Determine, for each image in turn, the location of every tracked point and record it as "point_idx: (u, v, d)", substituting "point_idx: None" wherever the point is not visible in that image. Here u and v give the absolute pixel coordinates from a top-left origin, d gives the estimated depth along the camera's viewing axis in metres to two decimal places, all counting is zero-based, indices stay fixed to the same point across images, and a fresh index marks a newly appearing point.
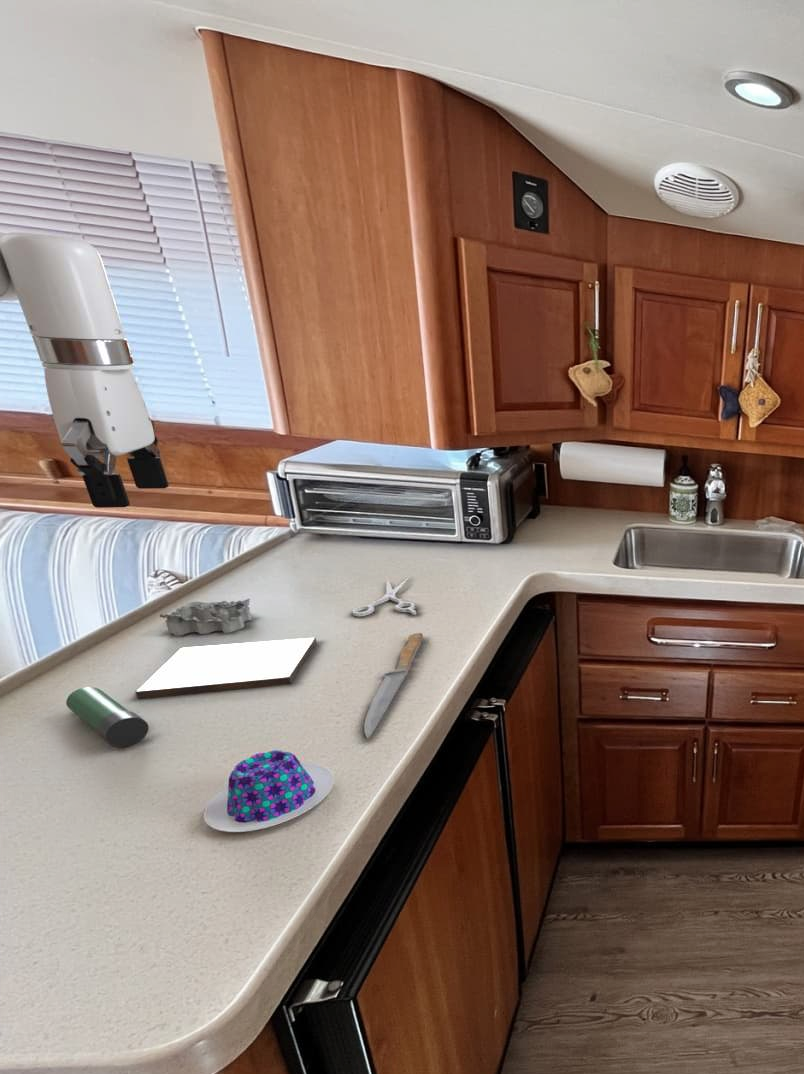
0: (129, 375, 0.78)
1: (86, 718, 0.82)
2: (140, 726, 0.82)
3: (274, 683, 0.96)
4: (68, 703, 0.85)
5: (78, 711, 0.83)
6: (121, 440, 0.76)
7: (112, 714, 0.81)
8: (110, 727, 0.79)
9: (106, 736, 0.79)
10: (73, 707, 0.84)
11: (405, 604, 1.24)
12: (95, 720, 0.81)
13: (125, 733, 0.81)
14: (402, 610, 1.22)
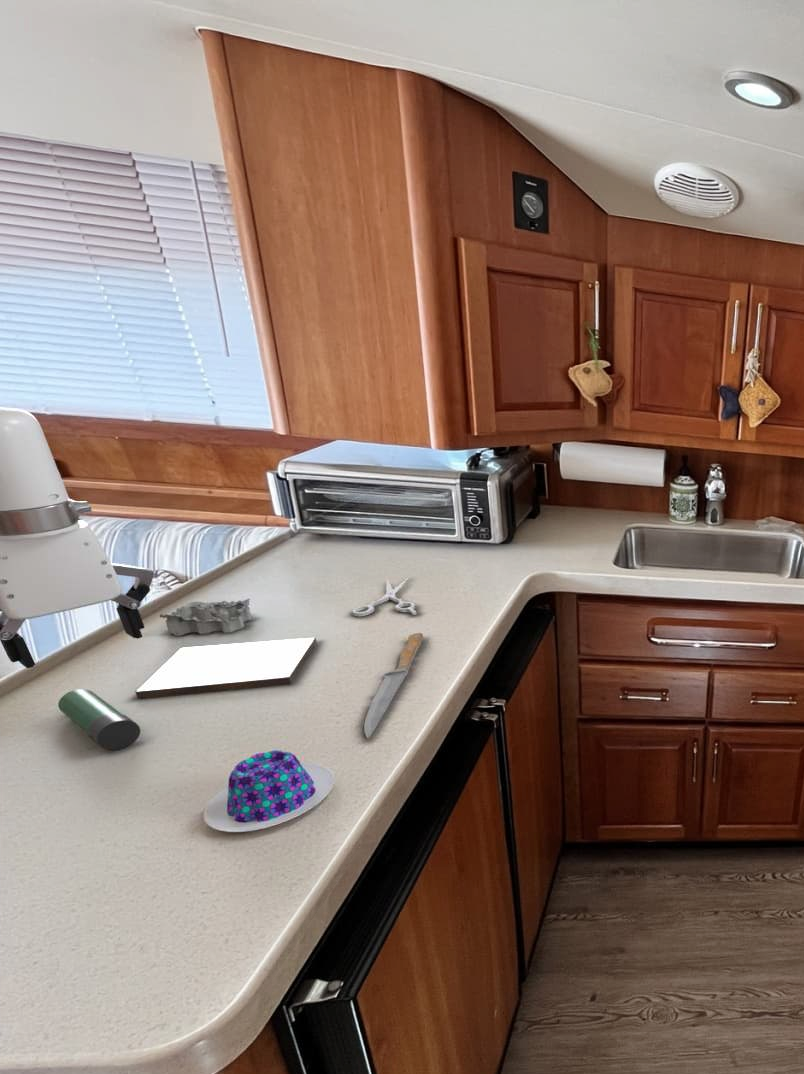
0: (70, 537, 0.75)
1: None
2: (128, 726, 0.81)
3: (274, 683, 0.96)
4: (61, 710, 0.84)
5: (71, 719, 0.83)
6: (25, 605, 0.74)
7: (96, 721, 0.80)
8: (98, 737, 0.78)
9: (99, 744, 0.79)
10: (66, 714, 0.84)
11: (405, 604, 1.24)
12: (86, 728, 0.80)
13: (117, 737, 0.80)
14: (402, 610, 1.22)
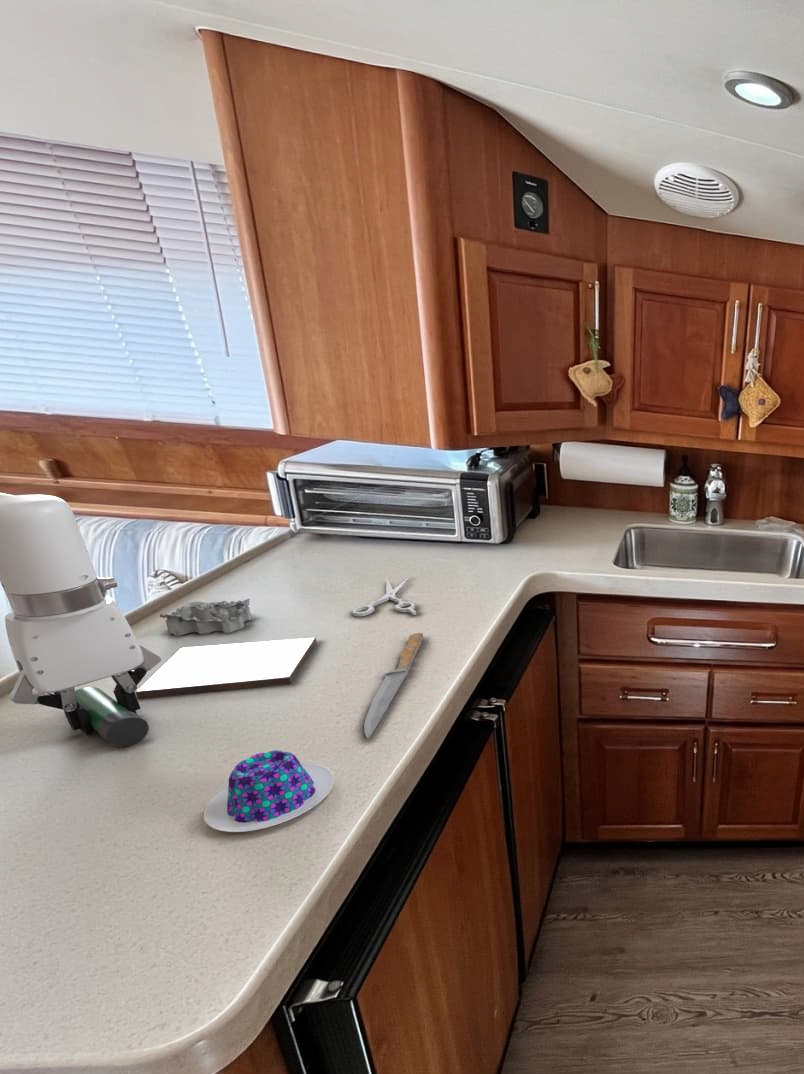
0: (97, 614, 0.79)
1: None
2: (140, 725, 0.82)
3: (274, 683, 0.96)
4: None
5: None
6: (54, 680, 0.77)
7: (110, 715, 0.81)
8: (109, 729, 0.79)
9: (106, 737, 0.79)
10: None
11: (405, 604, 1.24)
12: (95, 721, 0.81)
13: (125, 733, 0.81)
14: (402, 610, 1.22)
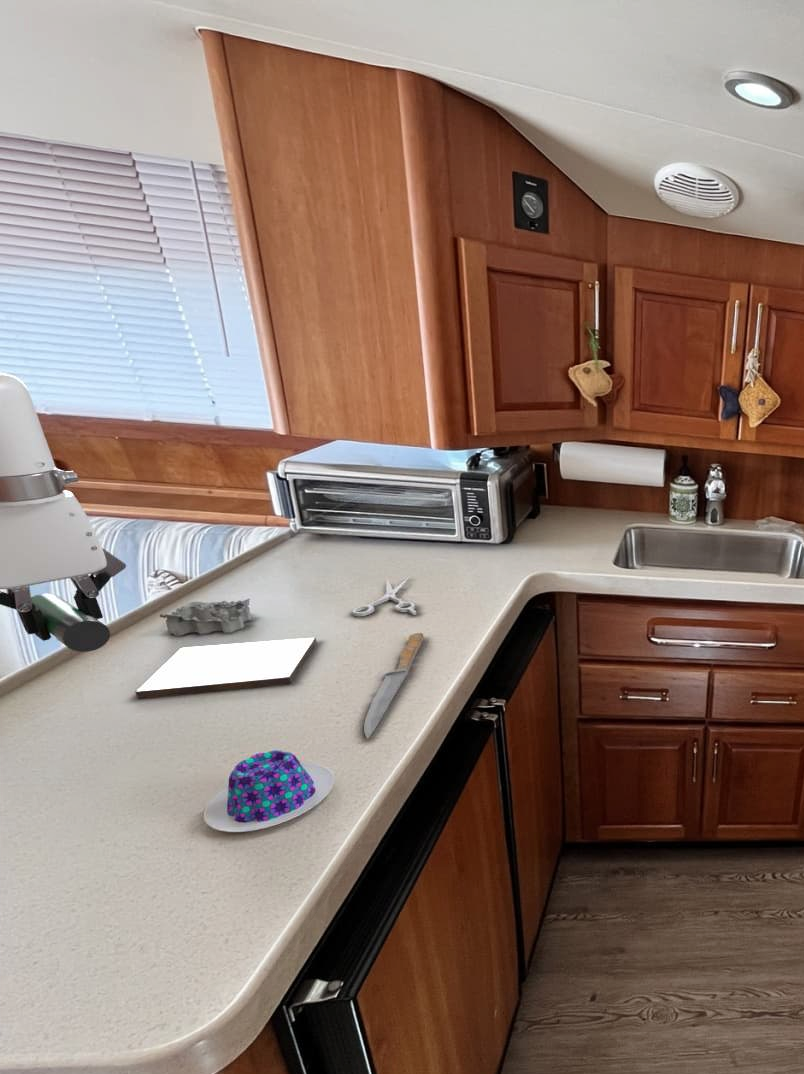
0: (55, 507, 0.74)
1: None
2: (100, 630, 0.76)
3: (274, 683, 0.96)
4: None
5: None
6: (6, 575, 0.72)
7: (68, 617, 0.75)
8: (66, 630, 0.74)
9: (63, 640, 0.74)
10: None
11: (405, 604, 1.24)
12: (52, 624, 0.76)
13: (84, 637, 0.75)
14: (402, 610, 1.22)
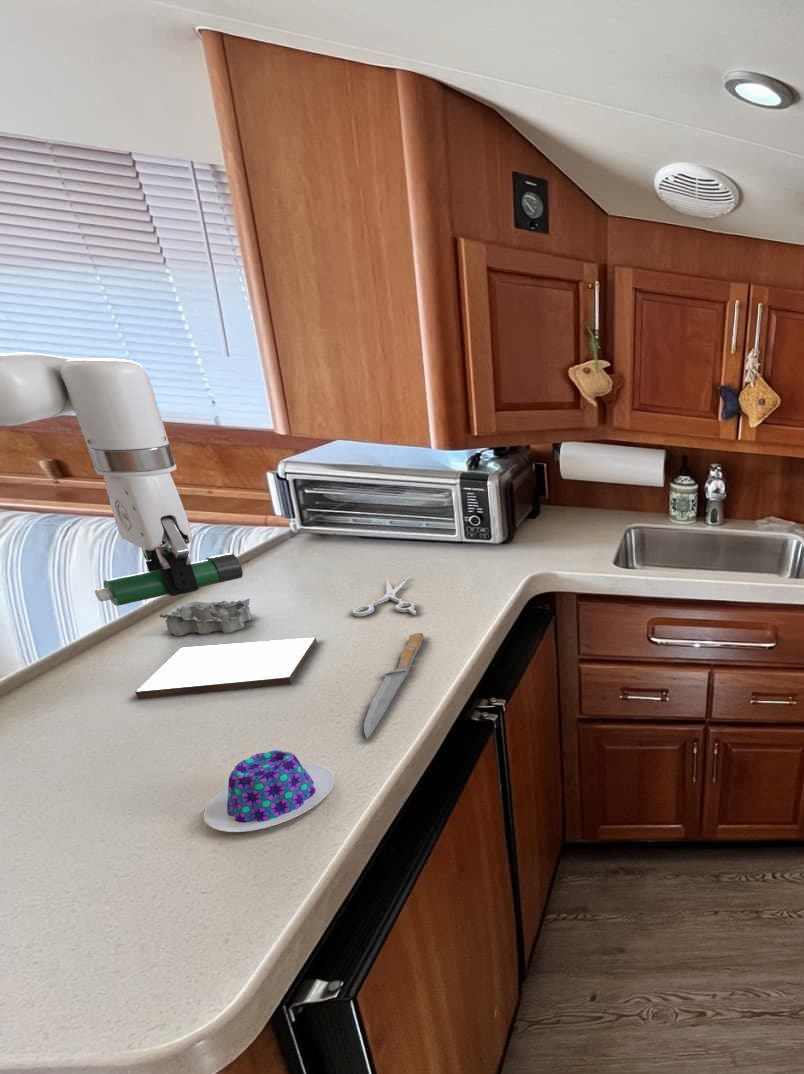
0: None
1: None
2: None
3: (274, 683, 0.96)
4: (123, 592, 0.84)
5: (156, 584, 0.87)
6: None
7: (214, 558, 0.92)
8: None
9: (240, 567, 0.94)
10: (140, 588, 0.85)
11: (405, 604, 1.24)
12: (202, 571, 0.91)
13: None
14: (402, 610, 1.22)
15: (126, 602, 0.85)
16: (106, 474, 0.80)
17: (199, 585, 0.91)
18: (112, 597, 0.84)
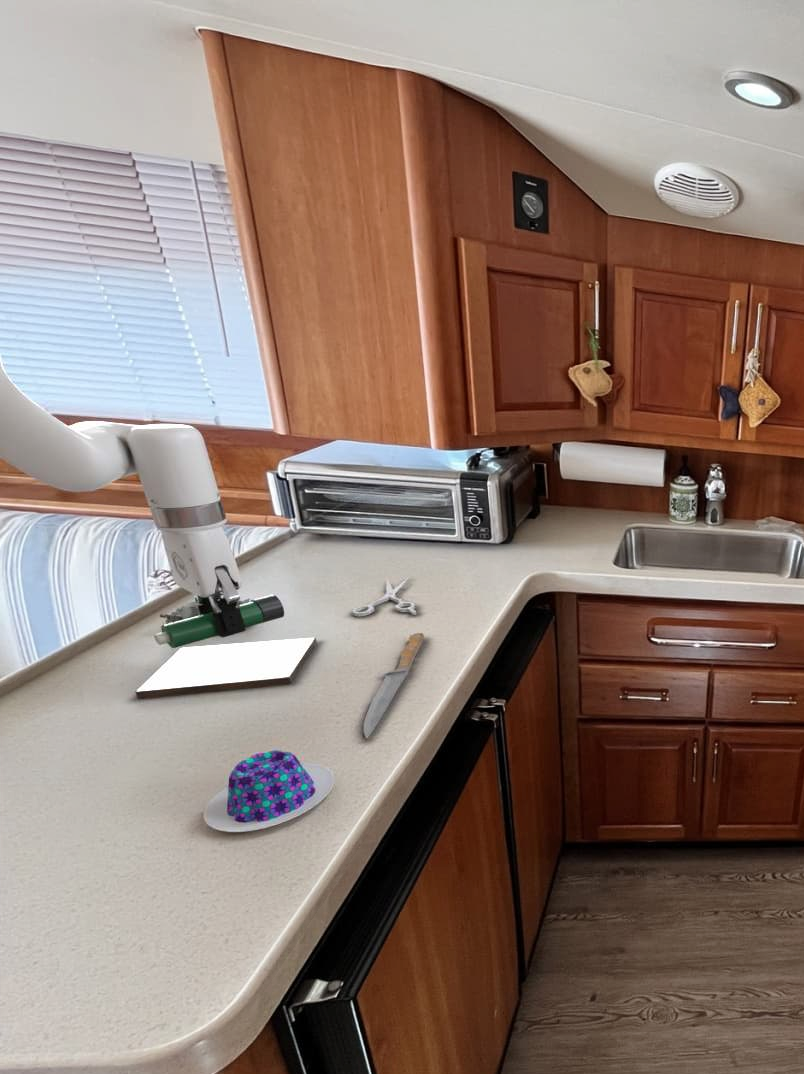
0: None
1: None
2: None
3: (274, 683, 0.96)
4: (179, 635, 0.91)
5: (208, 627, 0.94)
6: None
7: (259, 600, 1.00)
8: None
9: (282, 608, 1.02)
10: (194, 631, 0.93)
11: (405, 604, 1.24)
12: (248, 612, 0.98)
13: None
14: (402, 610, 1.22)
15: (182, 644, 0.92)
16: (166, 530, 0.87)
17: (246, 626, 0.98)
18: (169, 640, 0.91)
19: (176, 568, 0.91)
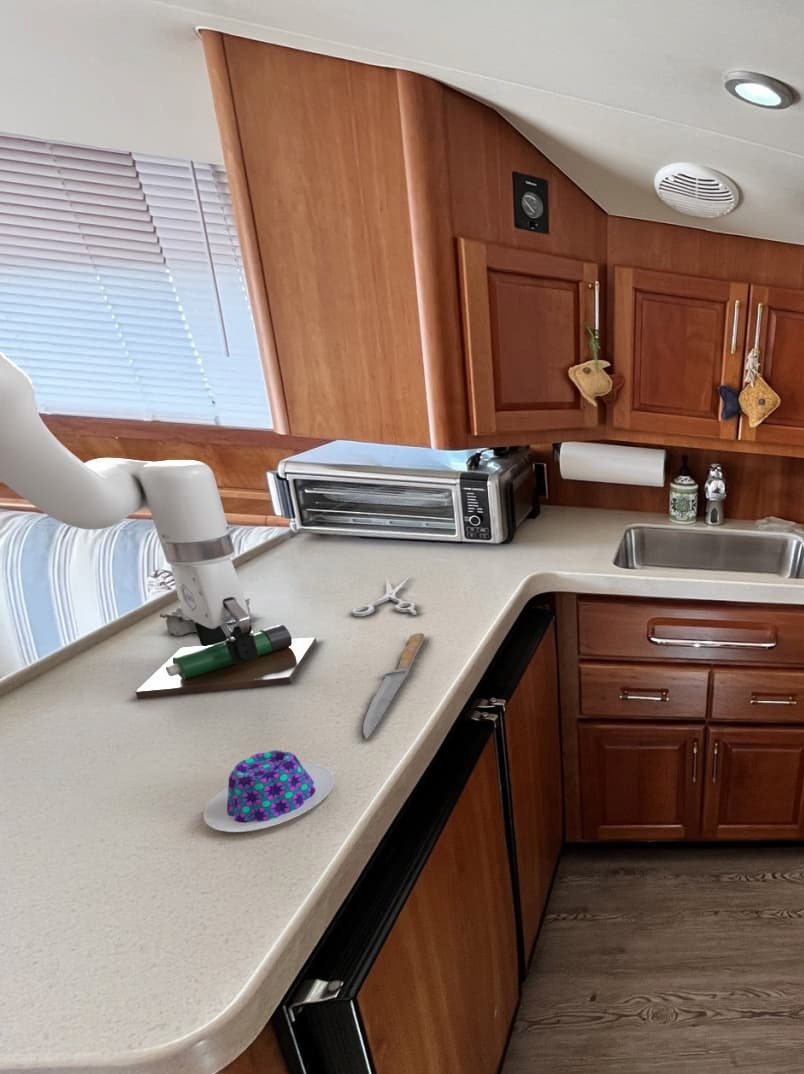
0: None
1: None
2: None
3: (274, 683, 0.96)
4: (191, 669, 0.93)
5: (219, 660, 0.96)
6: None
7: (268, 631, 1.01)
8: None
9: (290, 639, 1.04)
10: (205, 664, 0.94)
11: (405, 604, 1.24)
12: (258, 644, 1.00)
13: None
14: (402, 610, 1.22)
15: (192, 676, 0.94)
16: (176, 563, 0.89)
17: None
18: (180, 672, 0.93)
19: (185, 599, 0.93)
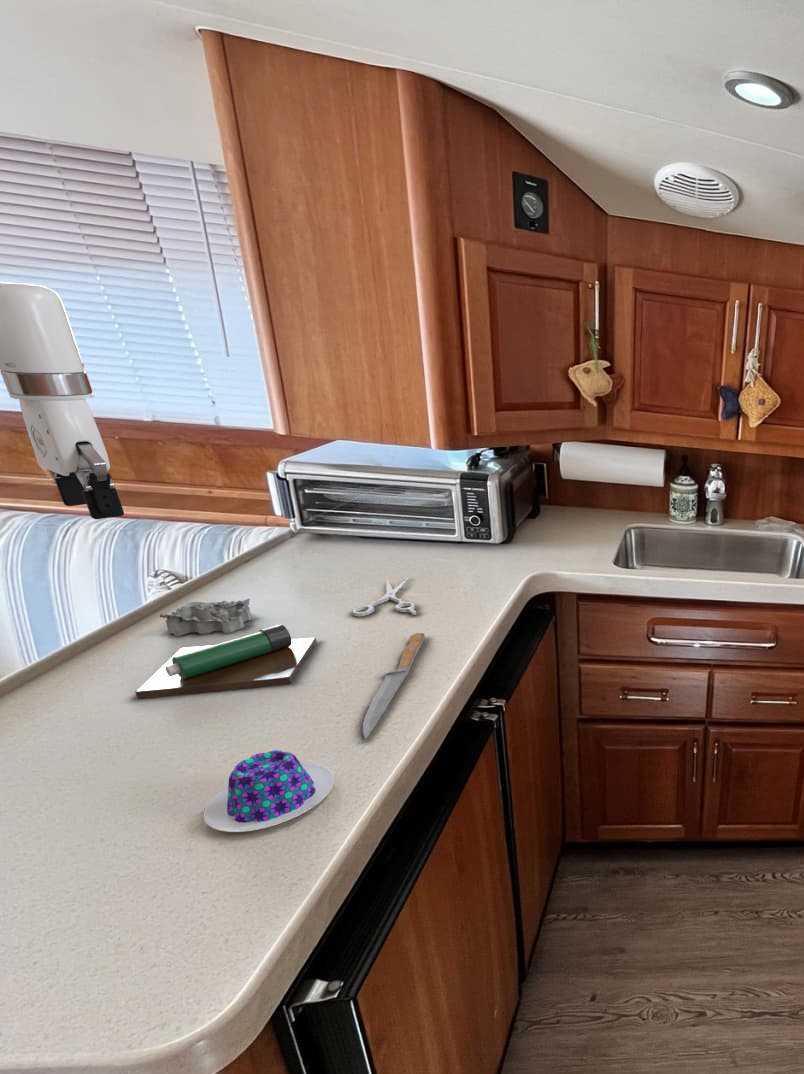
0: None
1: (239, 653, 0.98)
2: None
3: (274, 683, 0.96)
4: (190, 668, 0.93)
5: (218, 659, 0.96)
6: None
7: (267, 630, 1.02)
8: None
9: (290, 638, 1.04)
10: (204, 663, 0.94)
11: (405, 604, 1.24)
12: (257, 643, 1.00)
13: None
14: (402, 610, 1.22)
15: (192, 676, 0.94)
16: (19, 397, 0.81)
17: (254, 656, 1.00)
18: (180, 672, 0.93)
19: (37, 445, 0.86)
